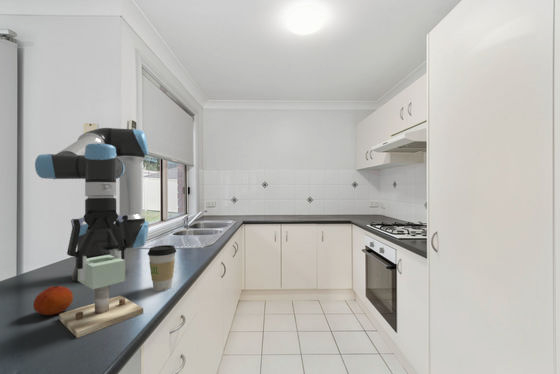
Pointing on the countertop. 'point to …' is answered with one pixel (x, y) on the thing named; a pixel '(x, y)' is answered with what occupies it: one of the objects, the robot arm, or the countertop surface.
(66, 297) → the fruit
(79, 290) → the countertop surface
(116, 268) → the green block with window
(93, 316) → the post base
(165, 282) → the coffee cup
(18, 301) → the countertop surface
